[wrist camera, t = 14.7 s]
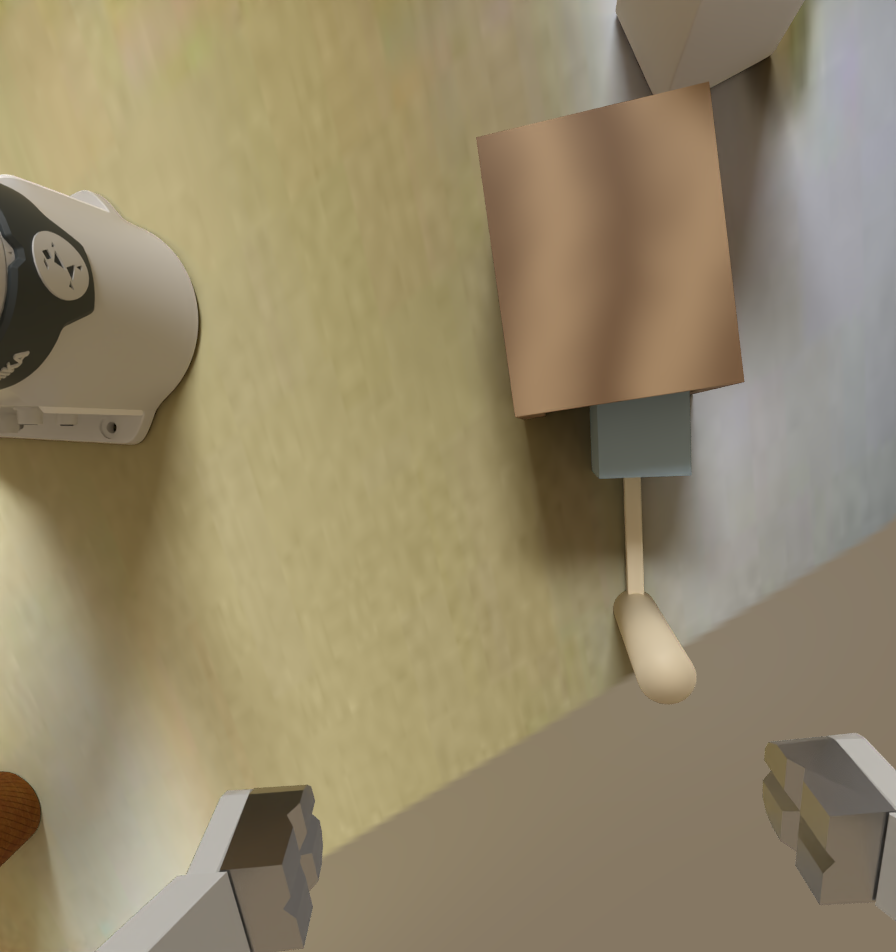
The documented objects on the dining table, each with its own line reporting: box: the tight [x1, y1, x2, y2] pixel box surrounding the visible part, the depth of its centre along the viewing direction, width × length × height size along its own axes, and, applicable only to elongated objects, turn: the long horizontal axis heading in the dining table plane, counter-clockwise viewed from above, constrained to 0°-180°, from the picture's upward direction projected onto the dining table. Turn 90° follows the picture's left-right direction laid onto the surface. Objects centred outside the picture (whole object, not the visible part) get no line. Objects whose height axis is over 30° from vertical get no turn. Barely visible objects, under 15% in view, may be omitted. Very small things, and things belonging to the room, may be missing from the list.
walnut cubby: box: [476, 82, 744, 419], centre depth 34 cm, size 11×14×10 cm
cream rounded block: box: [590, 391, 696, 704], centre depth 34 cm, size 5×16×11 cm, turn 3°
